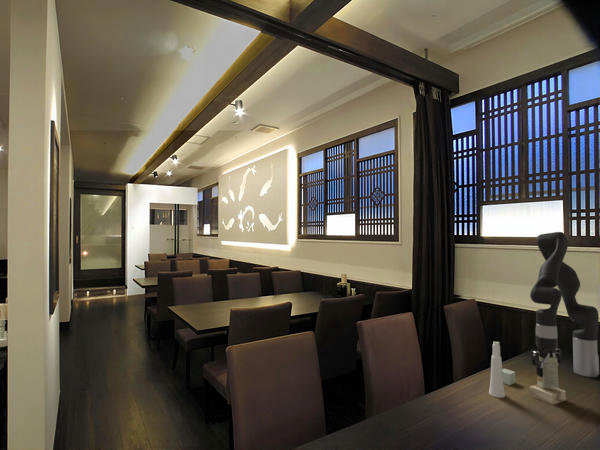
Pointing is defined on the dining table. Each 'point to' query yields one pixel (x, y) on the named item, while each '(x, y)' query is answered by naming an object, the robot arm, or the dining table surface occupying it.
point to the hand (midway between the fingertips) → (547, 375)
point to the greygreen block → (508, 376)
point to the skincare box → (549, 373)
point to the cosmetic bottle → (496, 373)
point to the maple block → (547, 394)
